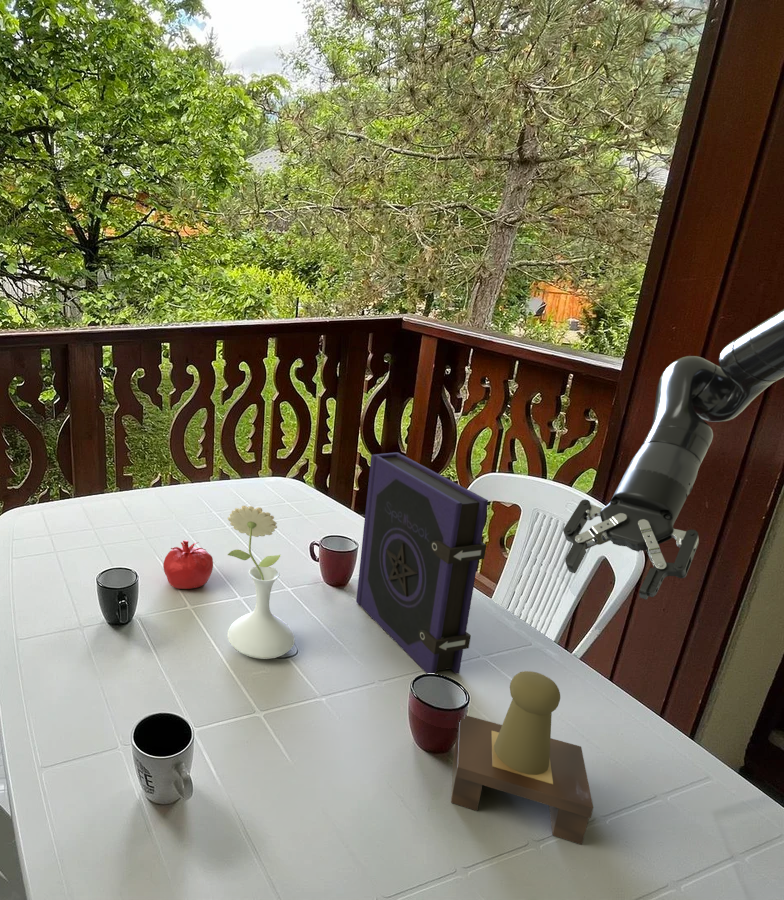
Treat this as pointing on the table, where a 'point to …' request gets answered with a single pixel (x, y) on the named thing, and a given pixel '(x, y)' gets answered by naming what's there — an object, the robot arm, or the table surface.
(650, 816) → the table surface
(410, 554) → the book
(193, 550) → the pomegranate
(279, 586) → the table surface
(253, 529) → the flower in vase
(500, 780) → the shelf
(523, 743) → the cork
